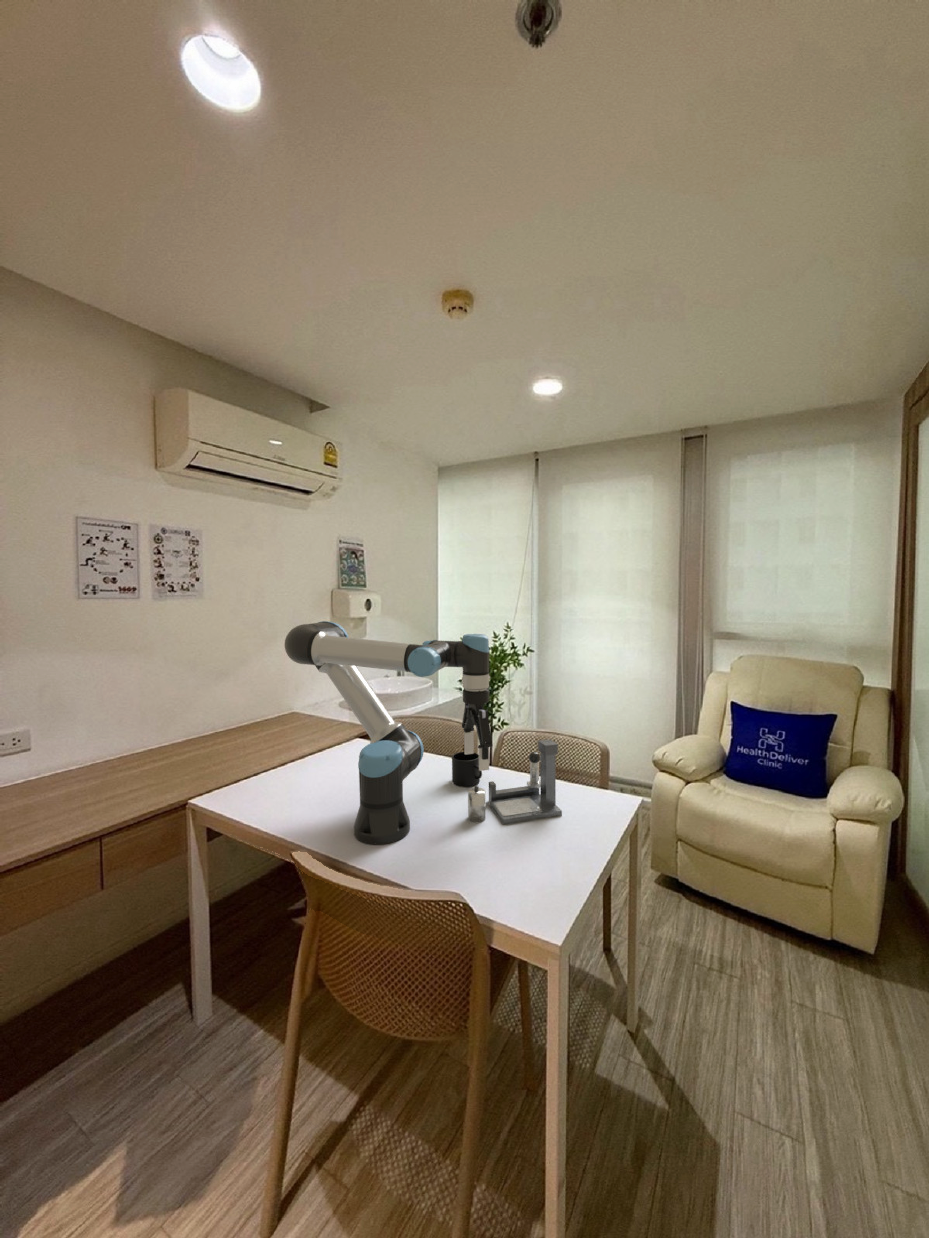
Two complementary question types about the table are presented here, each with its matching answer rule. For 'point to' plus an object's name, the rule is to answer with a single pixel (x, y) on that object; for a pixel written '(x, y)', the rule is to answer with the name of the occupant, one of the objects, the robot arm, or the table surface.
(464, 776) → the mug
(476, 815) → the housing
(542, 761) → the press
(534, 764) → the lever
